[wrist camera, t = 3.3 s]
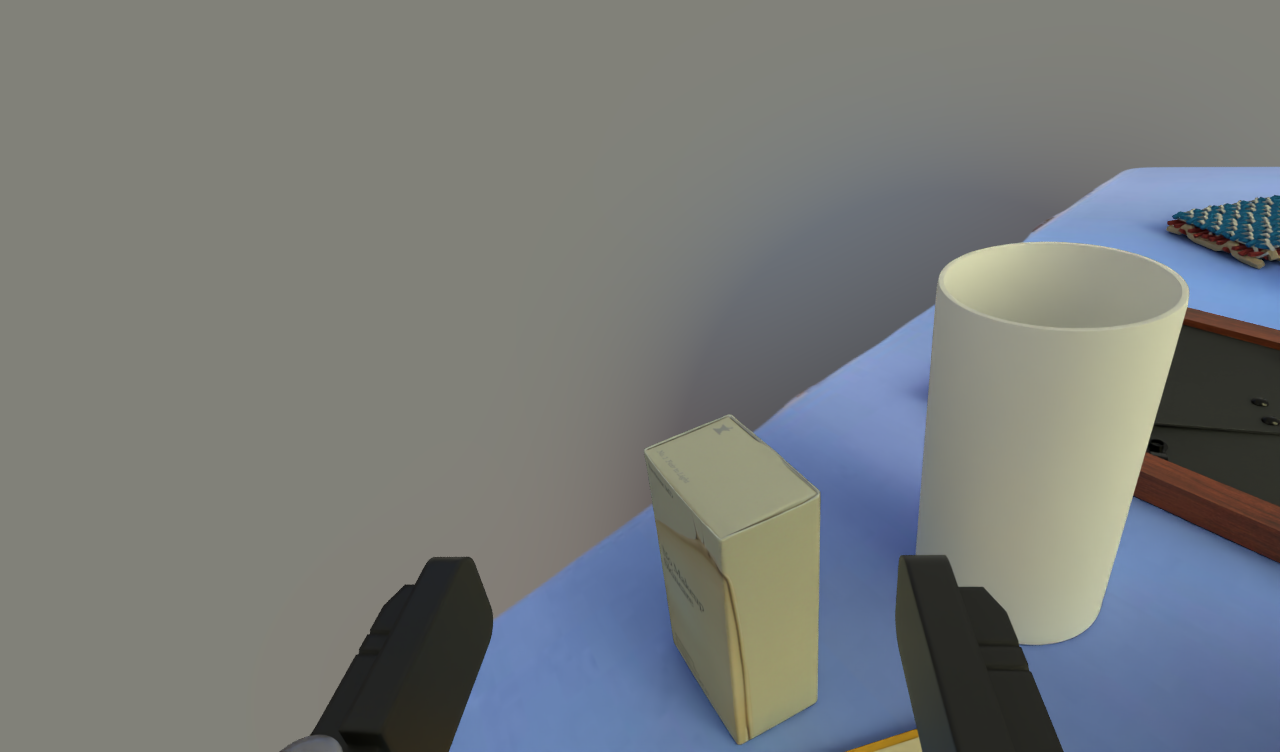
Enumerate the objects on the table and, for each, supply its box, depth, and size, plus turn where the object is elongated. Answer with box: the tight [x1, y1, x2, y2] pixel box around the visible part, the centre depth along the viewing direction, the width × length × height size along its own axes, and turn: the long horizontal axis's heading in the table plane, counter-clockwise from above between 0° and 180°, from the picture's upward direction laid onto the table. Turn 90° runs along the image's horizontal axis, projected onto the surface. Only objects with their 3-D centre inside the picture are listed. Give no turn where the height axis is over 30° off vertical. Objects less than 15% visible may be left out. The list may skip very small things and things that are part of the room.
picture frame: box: [1133, 307, 1280, 563], centre depth 40 cm, size 20×2×25 cm
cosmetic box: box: [644, 414, 820, 745], centre depth 28 cm, size 6×4×12 cm
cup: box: [916, 242, 1189, 645], centre depth 30 cm, size 8×8×16 cm
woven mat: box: [1166, 195, 1280, 269], centre depth 60 cm, size 10×11×2 cm
